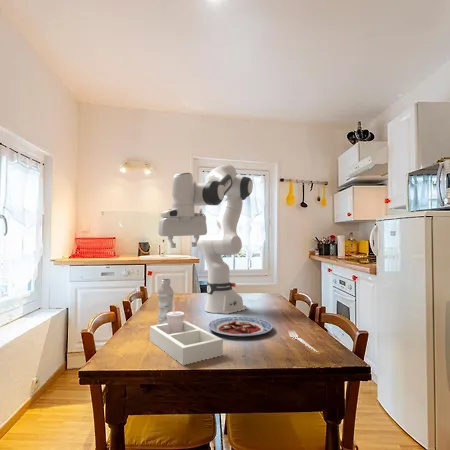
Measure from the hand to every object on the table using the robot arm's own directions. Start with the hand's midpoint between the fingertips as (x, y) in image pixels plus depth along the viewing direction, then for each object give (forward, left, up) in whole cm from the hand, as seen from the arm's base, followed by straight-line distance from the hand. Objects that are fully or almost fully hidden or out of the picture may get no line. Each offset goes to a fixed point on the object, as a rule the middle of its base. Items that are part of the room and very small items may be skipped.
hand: (184, 247), depth 125 cm
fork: (-29, +36, -34) cm, 58 cm away
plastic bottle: (+5, -6, -33) cm, 34 cm away
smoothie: (+8, +10, -33) cm, 36 cm away
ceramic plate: (-20, +11, -34) cm, 41 cm away
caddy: (+8, +17, -33) cm, 38 cm away
